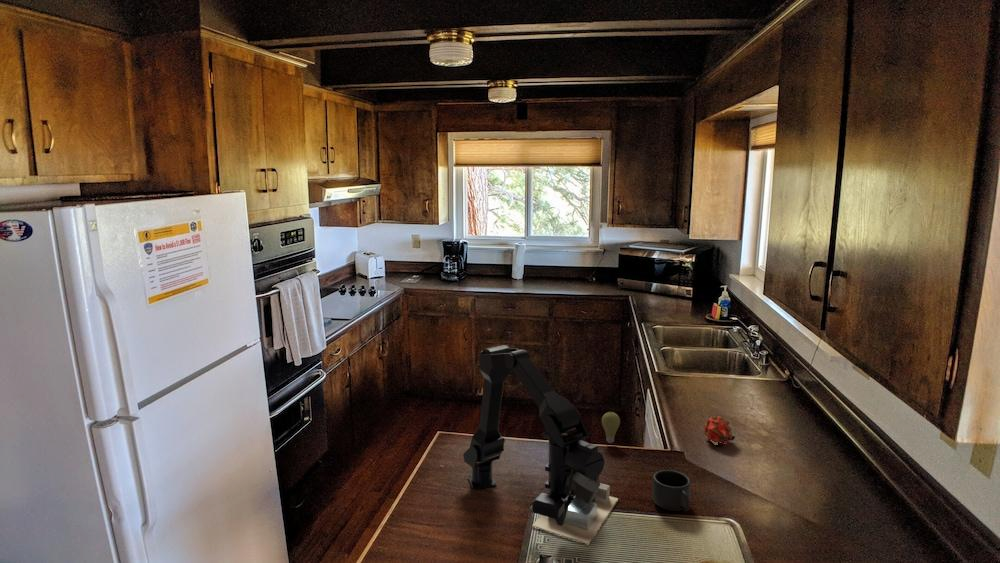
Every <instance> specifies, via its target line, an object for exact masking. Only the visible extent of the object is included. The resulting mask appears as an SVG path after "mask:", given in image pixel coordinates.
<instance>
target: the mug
mask: <svg viewBox="0 0 1000 563" xmlns="http://www.w3.org/2000/svg"><path fill="white" fill-rule="evenodd" d="M691 483H692V482H691V479H690V477H689V476H688V475H686V474H684V473H682V472H680V471H677V470H671V469H664V470H663V469H662V470H658V471H656V472H655V473H654V474H653V475H652V490H651V492H652V499H653V501H654V503H655V504H656V505H657V506H658V507H660V508H661V509H663V510H667V511H672V512H677V511H678V512H680V511H684V512H687V513H688V512H689V511H690V508H691V507H690V506H691V505H690V501H691V500H690V499H691V487H692V486H691Z"/></svg>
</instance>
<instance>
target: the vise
mask: <svg viewBox="0 0 1000 563" xmlns="http://www.w3.org/2000/svg"><path fill="white" fill-rule="evenodd" d="M610 490H611V489H610V484H609V485H608V484H606V483H601V482H600V486H599V488H598V490H597V493H596V495H595V503H597V512H596V518H595V519H594V521H593V522H592V524H591V525H590V527H589V528H588V529H584V528H581V527H577V526H574V525H571V524H568V523H564V524H563V525H562V526H560V525H558V524H557V522H556V520H555V519H552V518H548V517H547V516H543V515H540V516H539V517H538V518H537V519H536V520H535V522H533V524H532V526H534V527H536V528H539V529H541V530H545V531H549V532H552V533H554V534H557V535H561V536H564V537H566V538H569V539H572V540H575V541H579V542H582V543H585V544H588V545H589V544H591V543H592V542H591V541H593V540H594V538H595V537H596V535H597V534H598V532H599V531H600V529H601V528H600V527H602V526H603V525H604V523H605V522H606V520H607V519H608V517H609V515H610V514H611V512H612V510H613V509H614V508H615V506H616V504H617V503H618V502H619V498H618V497H615V496H611V495H610ZM604 521H605V522H604ZM602 524H603V525H602ZM532 526H531V527H532ZM541 530H540V531H541ZM598 530H599V531H598ZM597 531H598V532H597ZM596 533H597V534H596ZM554 534H553V535H554ZM557 535H556V536H557ZM594 536H595V537H594ZM566 538H565V539H566ZM569 539H568V540H569ZM592 539H593V540H592ZM572 540H571V541H572ZM575 541H574V542H575ZM590 542H591V543H590ZM585 544H584V545H585ZM588 545H587V546H588ZM589 546H590V545H589Z"/></svg>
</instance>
